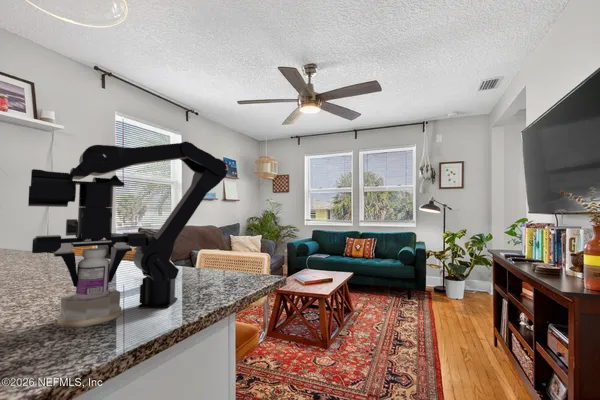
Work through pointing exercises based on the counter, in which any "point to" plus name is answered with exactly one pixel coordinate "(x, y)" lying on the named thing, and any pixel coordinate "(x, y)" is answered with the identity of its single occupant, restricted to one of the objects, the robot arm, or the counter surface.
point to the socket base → (89, 310)
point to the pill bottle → (93, 274)
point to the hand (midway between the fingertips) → (93, 284)
